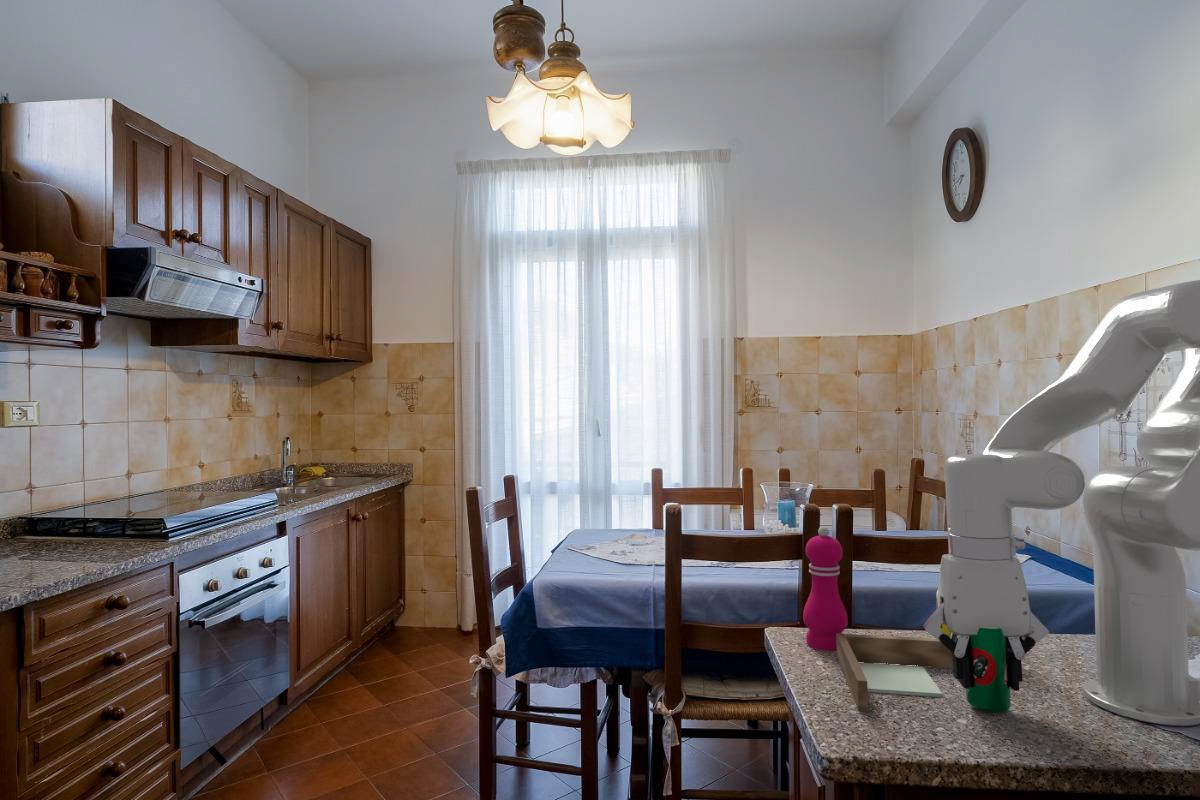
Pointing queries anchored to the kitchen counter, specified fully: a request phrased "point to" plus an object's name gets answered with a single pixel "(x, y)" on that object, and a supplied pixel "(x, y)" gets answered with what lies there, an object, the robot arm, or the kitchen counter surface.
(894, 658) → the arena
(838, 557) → the pepper mill
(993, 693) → the soda can
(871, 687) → the pad
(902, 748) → the kitchen counter surface
